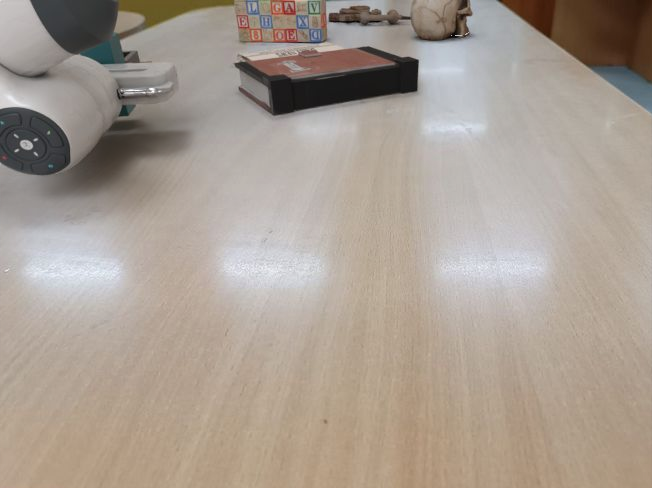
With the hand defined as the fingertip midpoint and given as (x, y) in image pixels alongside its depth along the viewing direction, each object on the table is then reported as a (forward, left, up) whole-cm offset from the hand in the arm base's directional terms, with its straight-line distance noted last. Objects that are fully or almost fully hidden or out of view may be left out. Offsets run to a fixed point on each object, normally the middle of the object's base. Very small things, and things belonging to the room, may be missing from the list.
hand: (108, 69), depth 71 cm
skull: (+65, +58, -8) cm, 88 cm away
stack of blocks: (+25, +61, -8) cm, 66 cm away
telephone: (+54, +84, -8) cm, 100 cm away
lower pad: (-8, +28, -7) cm, 30 cm away
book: (+31, +12, -8) cm, 34 cm away
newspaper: (+26, +37, -8) cm, 46 cm away
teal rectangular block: (0, -1, -6) cm, 6 cm away
